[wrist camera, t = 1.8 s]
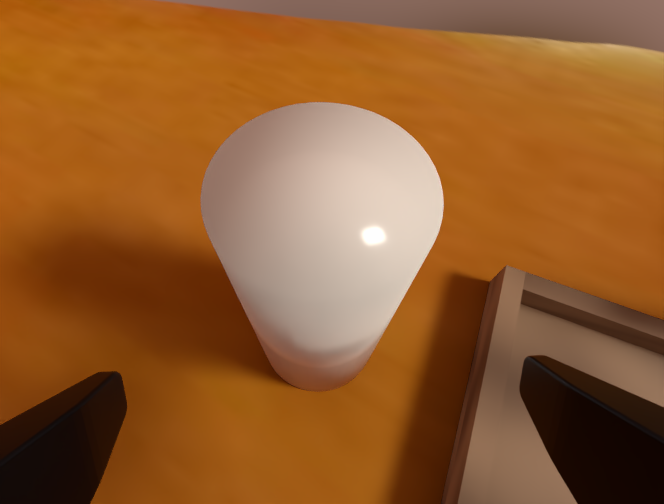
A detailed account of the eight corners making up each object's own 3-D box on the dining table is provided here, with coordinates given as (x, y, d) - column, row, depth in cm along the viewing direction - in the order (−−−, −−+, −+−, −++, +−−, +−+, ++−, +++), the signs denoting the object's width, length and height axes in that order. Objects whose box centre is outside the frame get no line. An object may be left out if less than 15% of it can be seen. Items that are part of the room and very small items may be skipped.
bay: (739, 658, 15) (798, 687, 13) (436, 522, 17) (452, 531, 15) (718, 362, 20) (759, 353, 19) (490, 281, 22) (506, 265, 20)
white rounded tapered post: (338, 414, 19) (374, 355, 7) (241, 353, 20) (147, 221, 9) (391, 316, 21) (478, 159, 10) (301, 266, 22) (288, 74, 11)
